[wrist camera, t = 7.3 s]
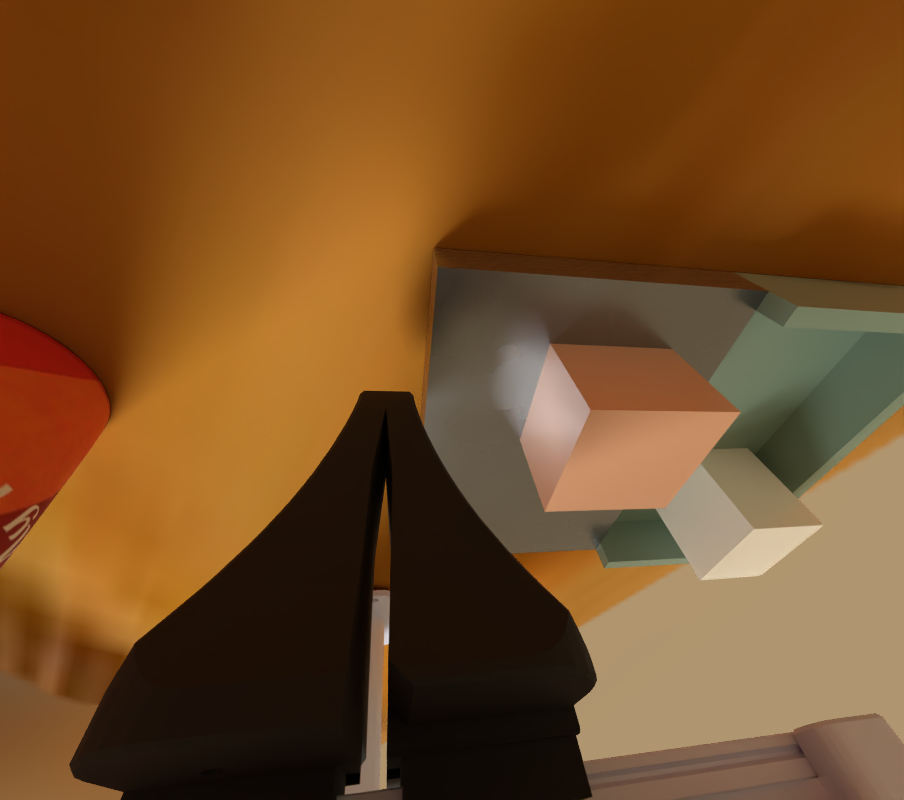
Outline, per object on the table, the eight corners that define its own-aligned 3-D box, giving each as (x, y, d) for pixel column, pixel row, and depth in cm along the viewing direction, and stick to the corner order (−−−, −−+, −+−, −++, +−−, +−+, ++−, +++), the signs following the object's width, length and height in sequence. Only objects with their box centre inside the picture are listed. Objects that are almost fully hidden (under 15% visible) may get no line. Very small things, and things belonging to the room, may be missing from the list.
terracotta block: (519, 440, 13) (544, 511, 11) (550, 343, 11) (590, 409, 9) (621, 440, 14) (665, 508, 12) (672, 349, 11) (740, 412, 9)
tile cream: (700, 580, 16) (760, 575, 17) (754, 529, 14) (823, 525, 14) (651, 502, 19) (703, 500, 20) (688, 449, 17) (747, 448, 17)
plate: (411, 529, 19) (412, 557, 18) (433, 247, 10) (437, 266, 9) (585, 523, 20) (596, 549, 19) (732, 271, 12) (769, 291, 11)
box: (585, 523, 20) (604, 568, 18) (732, 271, 12) (798, 306, 10) (697, 519, 21) (726, 561, 20) (909, 286, 13) (999, 320, 11)
